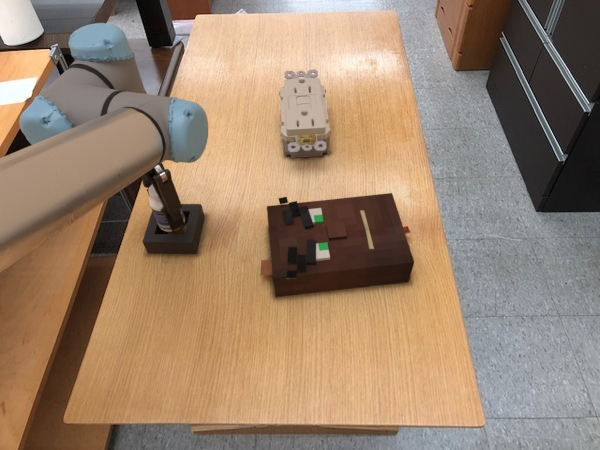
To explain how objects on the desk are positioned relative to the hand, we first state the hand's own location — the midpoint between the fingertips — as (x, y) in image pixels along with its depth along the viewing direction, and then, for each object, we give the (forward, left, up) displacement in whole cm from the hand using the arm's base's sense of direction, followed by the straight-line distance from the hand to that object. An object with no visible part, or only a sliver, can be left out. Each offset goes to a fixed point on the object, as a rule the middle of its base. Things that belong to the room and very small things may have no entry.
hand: (170, 218), depth 89 cm
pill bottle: (0, 0, -2) cm, 2 cm away
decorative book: (+22, -25, -6) cm, 34 cm away
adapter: (0, 0, -6) cm, 6 cm away
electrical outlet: (+41, +7, -6) cm, 41 cm away
